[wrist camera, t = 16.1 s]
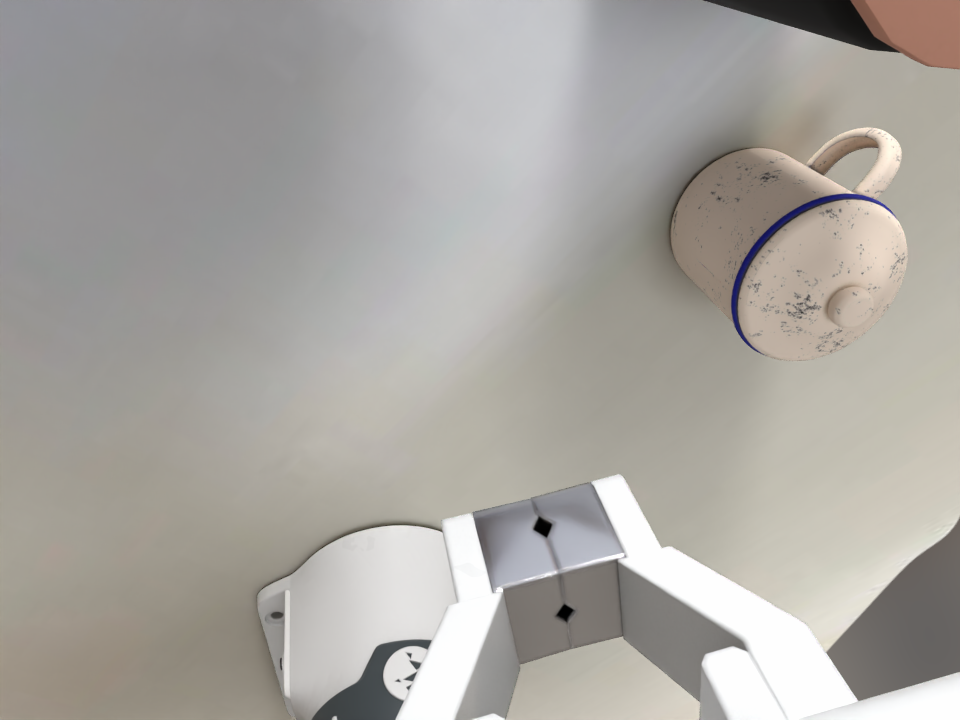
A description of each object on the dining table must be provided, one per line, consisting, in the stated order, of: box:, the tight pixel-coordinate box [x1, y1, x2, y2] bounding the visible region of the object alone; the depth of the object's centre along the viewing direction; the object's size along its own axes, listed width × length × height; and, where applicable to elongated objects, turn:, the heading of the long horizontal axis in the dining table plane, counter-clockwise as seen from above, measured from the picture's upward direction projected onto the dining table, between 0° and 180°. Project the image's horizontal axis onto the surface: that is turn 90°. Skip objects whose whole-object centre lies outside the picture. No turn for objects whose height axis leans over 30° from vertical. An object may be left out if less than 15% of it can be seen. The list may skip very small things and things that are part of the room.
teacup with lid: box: [671, 128, 907, 361], centre depth 38 cm, size 12×9×12 cm
